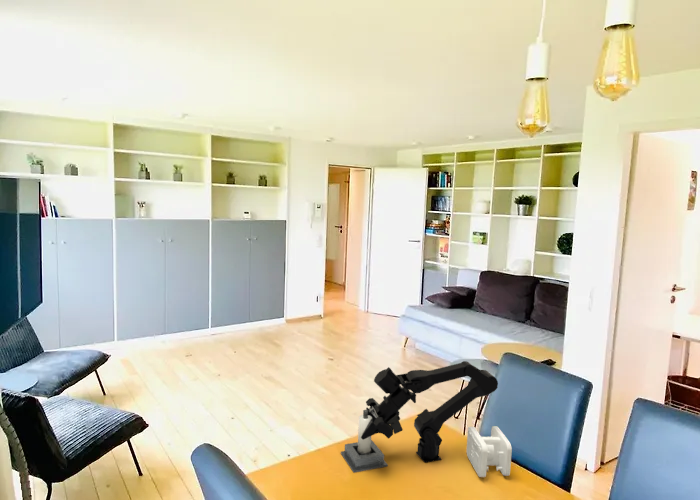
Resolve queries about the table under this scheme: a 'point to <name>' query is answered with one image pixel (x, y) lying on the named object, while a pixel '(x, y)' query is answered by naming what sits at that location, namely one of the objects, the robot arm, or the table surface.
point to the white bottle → (365, 444)
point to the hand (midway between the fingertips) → (360, 434)
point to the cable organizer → (489, 451)
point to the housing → (363, 458)
